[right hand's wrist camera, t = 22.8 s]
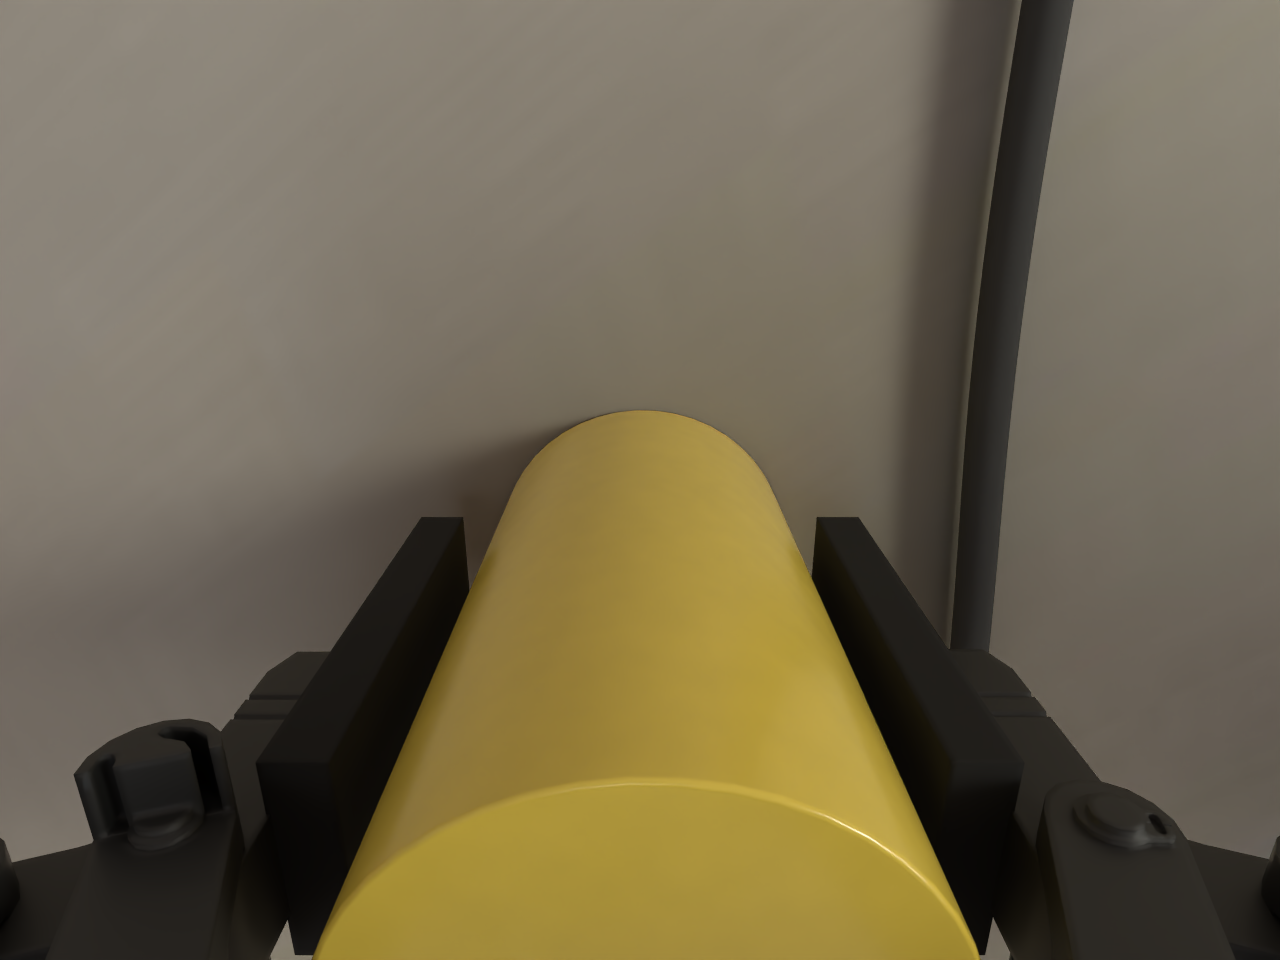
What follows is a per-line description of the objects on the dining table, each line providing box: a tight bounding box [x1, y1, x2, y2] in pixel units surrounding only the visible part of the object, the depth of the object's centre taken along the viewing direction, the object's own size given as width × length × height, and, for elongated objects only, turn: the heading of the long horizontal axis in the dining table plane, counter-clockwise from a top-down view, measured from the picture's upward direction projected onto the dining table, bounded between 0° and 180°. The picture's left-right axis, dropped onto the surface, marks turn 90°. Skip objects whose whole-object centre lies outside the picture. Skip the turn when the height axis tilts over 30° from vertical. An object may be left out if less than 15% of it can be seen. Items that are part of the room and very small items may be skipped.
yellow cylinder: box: [312, 410, 981, 960], centre depth 11 cm, size 6×6×10 cm
